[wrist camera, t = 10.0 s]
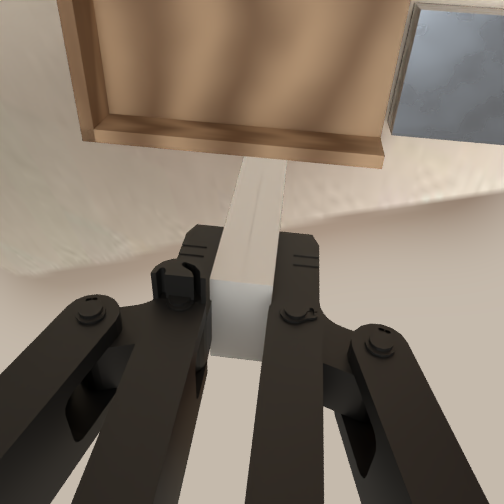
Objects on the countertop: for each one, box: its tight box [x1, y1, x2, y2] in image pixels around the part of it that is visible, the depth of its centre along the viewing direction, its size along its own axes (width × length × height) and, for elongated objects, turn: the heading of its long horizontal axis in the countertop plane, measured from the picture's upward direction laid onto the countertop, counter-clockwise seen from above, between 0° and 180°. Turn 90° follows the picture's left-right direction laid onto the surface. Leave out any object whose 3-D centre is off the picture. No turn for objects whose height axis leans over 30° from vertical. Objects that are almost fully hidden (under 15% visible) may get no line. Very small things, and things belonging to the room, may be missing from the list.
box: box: [57, 0, 410, 169], centre depth 32 cm, size 22×12×4 cm, turn 87°
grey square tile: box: [388, 3, 504, 145], centre depth 32 cm, size 8×8×2 cm
